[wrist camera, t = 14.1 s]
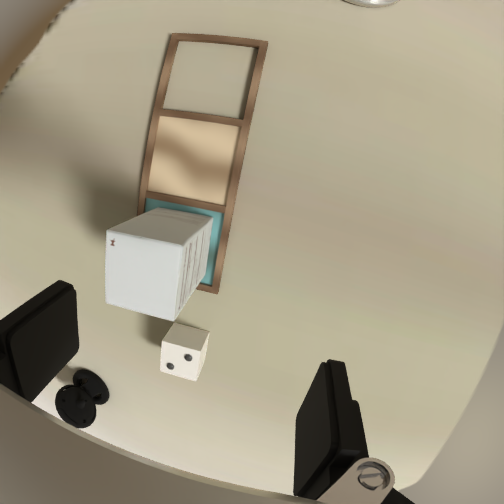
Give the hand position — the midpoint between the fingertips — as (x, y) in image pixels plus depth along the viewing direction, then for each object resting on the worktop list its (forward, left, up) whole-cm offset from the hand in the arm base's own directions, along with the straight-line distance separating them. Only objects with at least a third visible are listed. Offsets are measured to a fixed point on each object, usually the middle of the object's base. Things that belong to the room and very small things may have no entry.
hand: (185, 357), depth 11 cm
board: (-5, -9, -28) cm, 29 cm away
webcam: (+35, -23, -28) cm, 50 cm away
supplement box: (+5, -8, -28) cm, 29 cm away
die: (+19, -6, -28) cm, 34 cm away
